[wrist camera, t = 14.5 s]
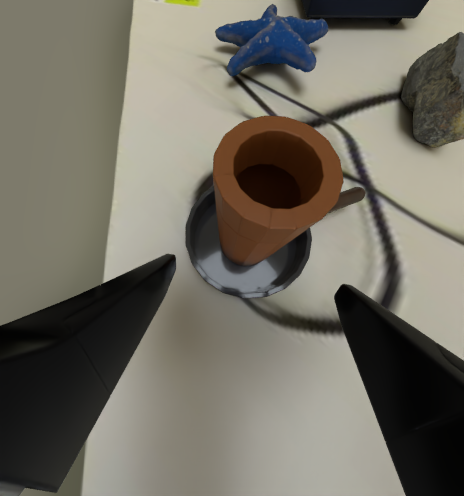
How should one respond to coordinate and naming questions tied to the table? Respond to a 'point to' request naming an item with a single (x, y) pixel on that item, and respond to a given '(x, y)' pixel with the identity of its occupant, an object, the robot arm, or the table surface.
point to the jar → (271, 185)
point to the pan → (231, 274)
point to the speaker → (364, 9)
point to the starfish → (272, 41)
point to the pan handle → (349, 198)
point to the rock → (437, 93)
